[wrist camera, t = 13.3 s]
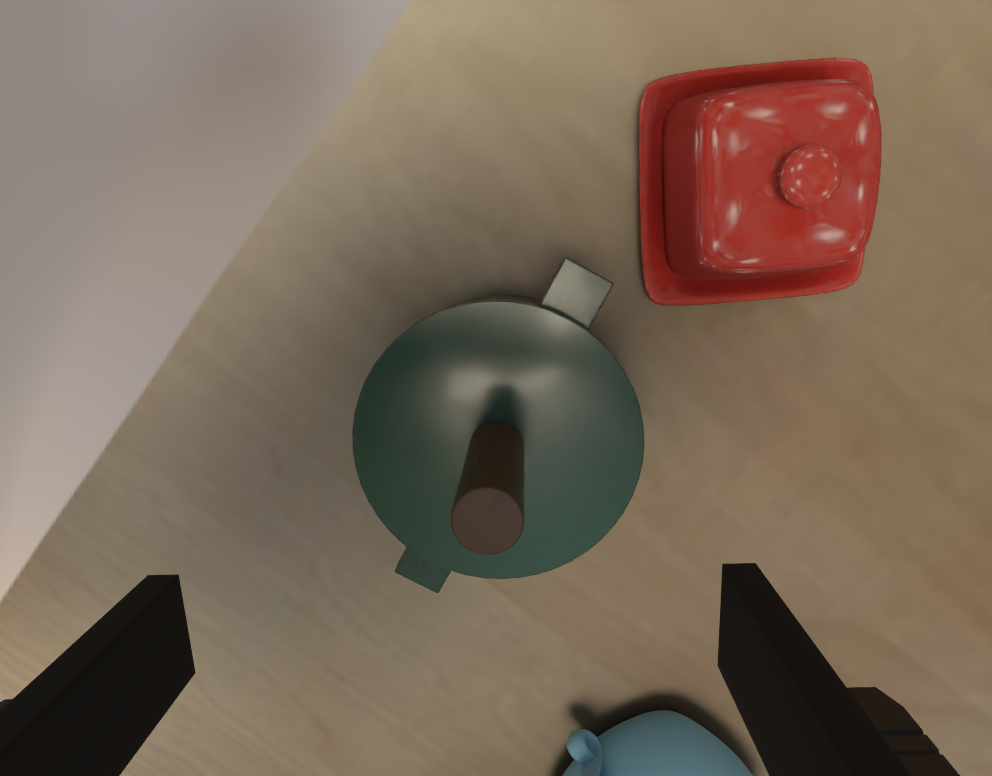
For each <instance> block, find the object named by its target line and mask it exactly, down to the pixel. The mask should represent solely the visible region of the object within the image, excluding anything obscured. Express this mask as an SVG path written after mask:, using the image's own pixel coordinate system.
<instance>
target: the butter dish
mask: <svg viewBox="0 0 992 776" xmlns="http://www.w3.org/2000/svg"><path fill="white" fill-rule="evenodd" d="M639 123H640V127H639V132H638V134H639V166H640V168H639V181H640V216H641V222H640V225H641V255H642V267H643V277H644V283H645V287H646V291H647V294H648V296H649V298H650V299H651V300H652V301H653V302H654V303H656V304H660V305H667V306H681V305H703V304H714V303H727V302H741V301H753V300H763V299H775V298H788V297H796V296H806V295H814V294H820V293H828V292H833V291H838V290H841V289H844V288H847V287H849V286H851V285H852V284H853V283H854V282H855V281H857V279H858V277H859V276H860V273H861V270H862V265H863V260H864V251H865V246H866V244H867V242H868V240H869V237H870V233H871V230H872V226H873V222H874V217H875V211H876V206H877V201H878V191H879V182H880V168H881V124H880V116H879V109H878V105H877V102H876V99H875V97H874V92H873V82H872V76H871V74H870V71H869V68H868V67H867V65H866V64H864V63H863V62H861V61H858V60H855V59H836V58H827V59H810V60H797V61H786V62H775V63H763V64H753V65H744V66H734V67H724V68H716V69H708V70H698V71H694V72H686V73H681V74H675V75H671V76H667V77H663V78H660V79H657V80H655V81H653V82H652V83H650V84H649V85H648V86H647V87H646V88H645V90H644V92H643V95H642V98H641V102H640V112H639Z"/></svg>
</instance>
